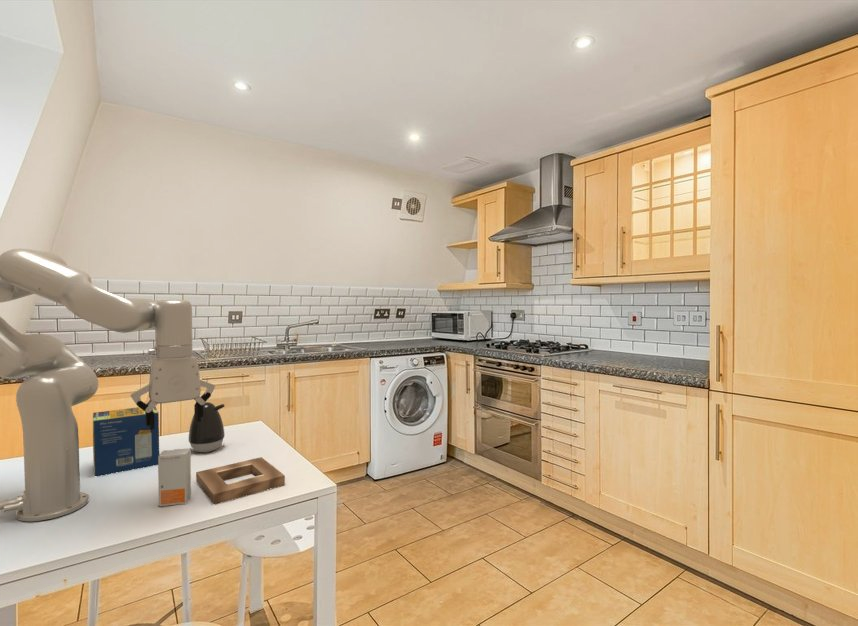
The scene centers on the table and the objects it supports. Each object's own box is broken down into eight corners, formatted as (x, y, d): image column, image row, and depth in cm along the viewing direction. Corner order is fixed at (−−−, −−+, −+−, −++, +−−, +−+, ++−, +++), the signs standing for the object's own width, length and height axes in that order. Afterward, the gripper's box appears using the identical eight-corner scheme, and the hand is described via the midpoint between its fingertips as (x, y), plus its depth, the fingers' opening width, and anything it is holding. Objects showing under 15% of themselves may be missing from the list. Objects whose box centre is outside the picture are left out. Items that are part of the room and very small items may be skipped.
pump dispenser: (221, 454, 136) (220, 405, 136) (184, 456, 134) (183, 407, 133) (228, 443, 146) (227, 397, 146) (194, 445, 144) (193, 399, 143)
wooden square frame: (213, 504, 103) (213, 493, 103) (196, 481, 116) (196, 471, 116) (284, 484, 114) (284, 475, 114) (261, 465, 127) (261, 456, 127)
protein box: (94, 465, 127) (92, 412, 126) (156, 454, 136) (155, 404, 135) (93, 477, 118) (92, 420, 118) (160, 464, 128) (159, 411, 127)
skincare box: (158, 507, 101) (157, 456, 101) (163, 499, 105) (162, 450, 105) (187, 504, 103) (186, 453, 103) (191, 496, 107) (190, 447, 107)
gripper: (132, 357, 95) (133, 435, 96) (218, 351, 106) (219, 421, 107) (127, 353, 101) (129, 427, 101) (209, 348, 112) (210, 415, 113)
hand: (175, 424), depth 104 cm, fingers open, 9 cm apart
